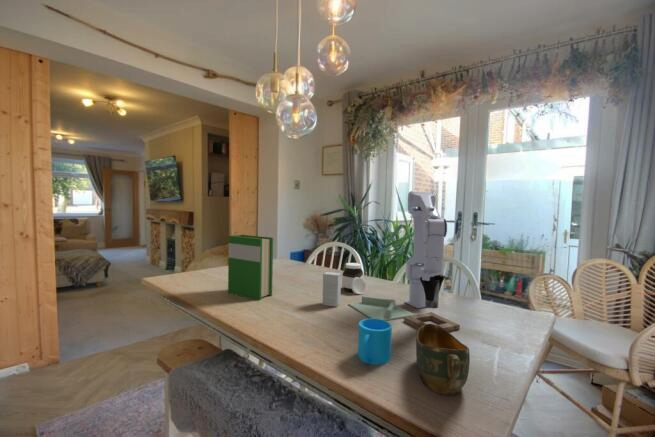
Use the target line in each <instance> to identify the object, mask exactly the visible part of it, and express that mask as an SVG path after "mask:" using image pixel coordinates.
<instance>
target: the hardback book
mask: <svg viewBox="0 0 655 437" xmlns="http://www.w3.org/2000/svg"><path fill="white" fill-rule="evenodd" d="M273 258H274V238H273V237H269V236H261V235H260V236H259V235H249V234H235V235H229V236H228V258H227V259H228V265H227V266H228V277H227V280H228V281H227V285H228V286H227V293H228V292H229V293H228V294H231V293H233V294H232V295H235V294H237V295H236V296H239V295H241V296H240V297H243V296H244V298H248V299H253V300H257V301H261V300H262V298H264V297H265V296H267V295H268V297H272V296H273V276H274V275H273V271H274V270H273V268H274V266H273V265H274V263H273V262H274V261H273V260H274V259H273Z"/></svg>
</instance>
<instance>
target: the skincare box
mask: <svg viewBox="0 0 655 437" xmlns="http://www.w3.org/2000/svg"><path fill="white" fill-rule="evenodd" d="M341 287H342V274H341V272H332V271H331V272H330V271H326V272H324V273H323V274H322V306H326V307H327V306H329V307H335V308H337V307H339V306H340V305H341V295H342V294H341Z"/></svg>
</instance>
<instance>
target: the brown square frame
mask: <svg viewBox="0 0 655 437" xmlns="http://www.w3.org/2000/svg"><path fill="white" fill-rule="evenodd" d="M428 321H432V322H434V323H437V324H436V325H437V326H440V327H442V328H444V329H445V330H447V331H448V332H449V333H451V332H454V331H458V330H460V328H461V325H460V324H459V323H456V322H455V321H453V320H450V319H447V318H446V317H443V316H441V315H439V314H436V313H434V312H431V311H429V312H424V313H420V314H415V315H412V316H406V317H404V318H403V322H404V323H406V324H408V325H410V326H412V327H413V328H416V329H417V330H418V329H419V328H420V327H421V326H422V325H424V324H426V323H425V322H428Z"/></svg>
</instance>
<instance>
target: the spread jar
mask: <svg viewBox="0 0 655 437" xmlns="http://www.w3.org/2000/svg"><path fill="white" fill-rule="evenodd" d="M341 287H342V289H344V290H345V291H346V292H350V293H354V294H356V295H362V294H364V293H365V292H366V290H367V283H366V281H365V280H364V271H363V269H362V264H361V263H358V262H348V263H347V262H346V263H345V268H344V270H343V271H342V274H341Z"/></svg>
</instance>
